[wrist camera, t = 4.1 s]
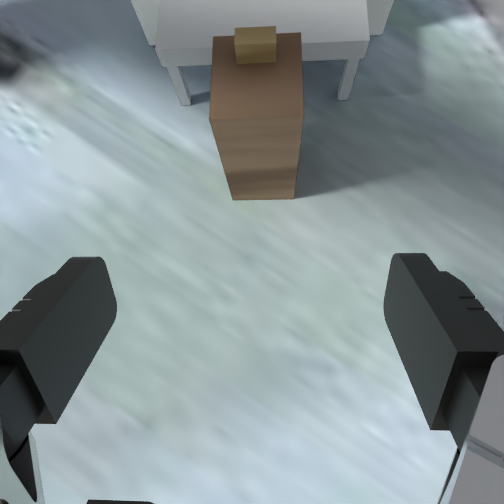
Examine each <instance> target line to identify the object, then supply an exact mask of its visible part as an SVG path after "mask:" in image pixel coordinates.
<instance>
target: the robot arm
mask: <svg viewBox="0 0 504 504" xmlns="http://www.w3.org/2000/svg"><path fill="white" fill-rule="evenodd" d="M116 313H117V303H116V298H115V295H114V291H113V288H112V284H111V281H110V278H109V274H108V271H107V267H106V264H105V262H104V260H103V259H102V258H101V257H72V258H70V259H69V260H68V261H67V262H66V263H65V264H64V265H63V266H62V267H61V268H60V269H59V270H58V271H57V272H56V273H55V274H54V275H51V276H50V277H48V278H47V279H45V280H43V281H42V282H40V283H38V284H37V285H35V286H34V287H33V288H32V289H31V290H30V291H29V292H28V293H27V294H26V295H25V296H24V297H23V300H22V301H19V302H18V303H17V304H16V305H15V306H14V307H13V308H12V312H8V313H7V315H6V316H5V317H4V318H3V319H2V320H1V321H0V504H45V500H44V494H43V488H42V481H41V475H40V469H39V462H38V456H37V450H36V443H35V439H34V437H33V435H32V433H31V432H30V430H31V428H32V427H33V425H34V424H35V423H36V424H56V423H57V421H58V420H59V418H60V416H61V414H62V413H63V411H64V409H65V407H66V406H67V404H68V402H69V400H70V399H71V397H72V395H73V393H74V392H75V390H76V388H77V386H78V385H79V383H80V381H81V379H82V378H83V376H84V374H85V372H86V371H87V369H88V367H89V365H90V364H91V362H92V360H93V358H94V357H95V355H96V353H97V351H98V350H99V348H100V346H101V344H102V343H103V341H104V339H105V337H106V335H107V334H108V332H109V330H110V328H111V327H112V325H113V323H114V321H115V318H116ZM384 316H385V320H386V323H387V326H388V328H389V331H390V333H391V336H392V338H393V340H394V343H395V345H396V348H397V350H398V353H399V355H400V357H401V360H402V362H403V365H404V367H405V370H406V372H407V374H408V377H409V379H410V382H411V384H412V387H413V389H414V391H415V394H416V396H417V399H418V401H419V404H420V406H421V408H422V411H423V413H424V416H425V418H426V421H427V423H428V425H429V428H430V430H450V432H451V434H452V436H453V438H454V440H455V442H456V444H457V449H456V451H455V454H454V457H453V459H452V462H451V465H450V468H449V471H448V474H447V476H446V479H445V482H444V485H443V488H442V491H441V493H440V496H439V499H438V502H437V504H504V332H503V330H502V329H501V328H500V327H499V325H498V324H497V323H496V322H495V321H494V319H493V318H492V317H491V316H490V314H489V313H488V312H487V311H484V307H483V306H482V304H481V303H480V302H479V301H478V299H475V296H474V295H473V293H472V292H471V291H470V290H469V288H468V287H467V286H466V285H465V283H463V282H462V281H460V280H459V279H457V278H456V277H454V276H453V275H451V274H450V273H448V272H447V271H439V270H438V269H437V268H436V266H435V265H434V264H433V262H432V261H431V260H430V258H429V257H428V256H427V254H425V253H396V254H394V255H393V257H392V260H391V264H390V270H389V275H388V281H387V286H386V292H385V297H384ZM87 504H154V503H151V502H144V501H114V500H88V502H87Z"/></svg>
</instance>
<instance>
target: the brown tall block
mask: <svg viewBox="0 0 504 504" xmlns="http://www.w3.org/2000/svg"><path fill="white" fill-rule="evenodd" d="M209 120H210V124H211V127H212V131H213V134H214V138H215V141H216V144H217V148H218V151H219V155H220V158H221V161H222V165H223V168H224V172H225V175H226V179H227V182H228V185H229V189H230V192H231V196H232V199H233V200H277V199H294V193H295V185H296V177H297V169H298V161H299V153H300V145H301V137H302V129H303V121H304V101H303V71H302V41H301V32H297V33H276V26H262V27H242V28H235V35H233V36H213V46H212V69H211V92H210V114H209Z"/></svg>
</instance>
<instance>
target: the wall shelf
mask: <svg viewBox="0 0 504 504" xmlns="http://www.w3.org/2000/svg"><path fill="white" fill-rule="evenodd" d="M131 2H132V5H133V7H134V9H135V12H136V14H137V17H138V19H139V21H140V24H141V26H142V28H143V31H144V33H145V36H146V38H147V40H148V43H149V45H156V46H155V51H156V53H157V56H158V58H159V61H160V63H161V66H162V67H166V68H167V70H168V73H169V75H170V78H171V80H172V83H173V86H174V88H175V91H176V93H177V96H178V98H179V101H180V103H181V106H183V105H191V94H190V91H189V88H188V85H187V82H186V80H185V77H184V74H183V71H182V68H181V66H199V65H212V46H213V36H233V35H235V28H242V27H262V26H276V33H297V32H301V41H302V61H319V60H343V59H345V63H344V67H343V71H342V75H341V79H340V83H339V87H338V91H337V93H338V100H348V98H349V95H350V92H351V88H352V85H353V81H354V78H355V75H356V71H357V68H358V64H359V61H360V59H364V58H365V55H366V52H367V48H368V45H369V42H370V35H382V34H383V31H384V28H385V25H386V22H387V19H388V16H389V13H390V10H391V7H392V4H393V2H394V0H131Z"/></svg>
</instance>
